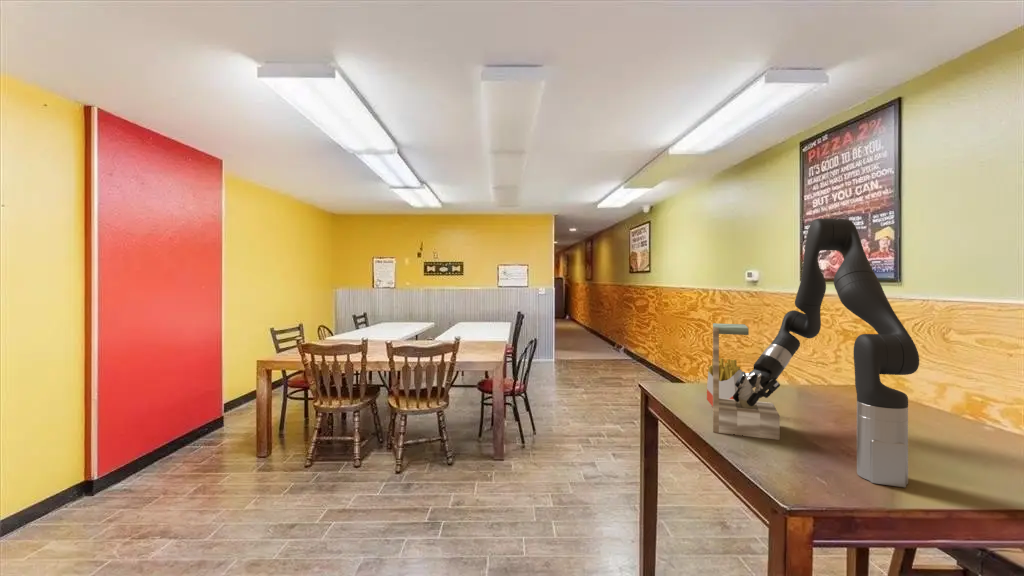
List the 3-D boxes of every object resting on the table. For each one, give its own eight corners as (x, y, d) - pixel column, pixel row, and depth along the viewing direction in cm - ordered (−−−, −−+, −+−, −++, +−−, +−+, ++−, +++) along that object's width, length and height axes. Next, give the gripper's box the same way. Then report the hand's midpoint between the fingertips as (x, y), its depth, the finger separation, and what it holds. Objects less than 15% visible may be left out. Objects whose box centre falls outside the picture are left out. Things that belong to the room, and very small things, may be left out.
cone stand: (779, 439, 132) (779, 329, 132) (713, 432, 139) (713, 327, 139) (772, 424, 146) (772, 325, 146) (712, 418, 153) (712, 323, 153)
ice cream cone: (752, 422, 145) (751, 375, 145) (759, 427, 140) (758, 378, 140) (735, 421, 145) (735, 374, 145) (741, 426, 140) (741, 378, 140)
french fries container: (734, 413, 160) (734, 361, 160) (706, 406, 169) (706, 357, 169) (741, 411, 163) (741, 360, 163) (713, 404, 172) (713, 356, 172)
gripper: (748, 350, 151) (718, 389, 148) (785, 357, 138) (753, 399, 134) (761, 365, 153) (731, 404, 149) (799, 373, 139) (767, 416, 136)
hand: (742, 402), depth 142 cm, fingers closed on ice cream cone, 5 cm apart
